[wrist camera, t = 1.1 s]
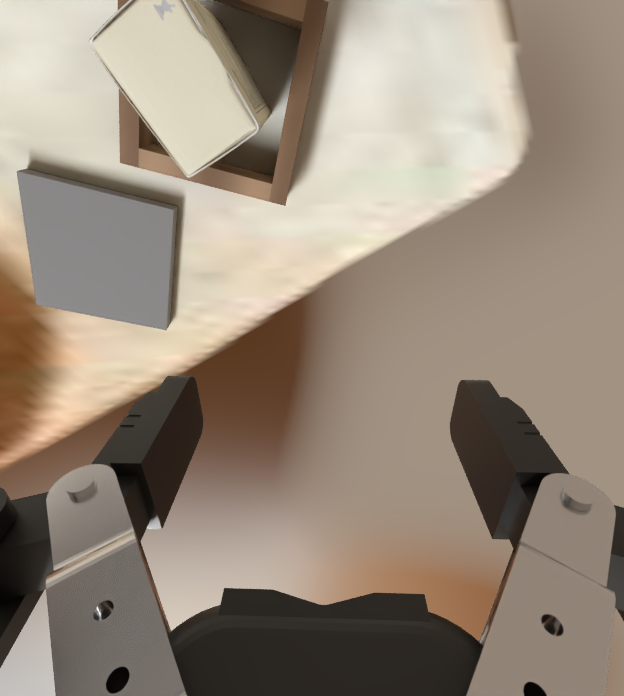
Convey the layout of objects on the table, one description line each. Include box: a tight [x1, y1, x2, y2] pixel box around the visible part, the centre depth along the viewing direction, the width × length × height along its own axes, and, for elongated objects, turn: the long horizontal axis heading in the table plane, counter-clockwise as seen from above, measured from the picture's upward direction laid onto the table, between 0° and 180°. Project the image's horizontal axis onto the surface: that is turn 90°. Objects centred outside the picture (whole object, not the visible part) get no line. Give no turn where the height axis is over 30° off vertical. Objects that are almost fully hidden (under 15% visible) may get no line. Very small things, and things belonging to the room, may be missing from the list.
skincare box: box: [89, 0, 270, 178], centre depth 21 cm, size 6×4×12 cm
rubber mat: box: [17, 169, 178, 330], centre depth 32 cm, size 11×11×1 cm
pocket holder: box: [118, 0, 328, 206], centre depth 25 cm, size 11×11×3 cm
